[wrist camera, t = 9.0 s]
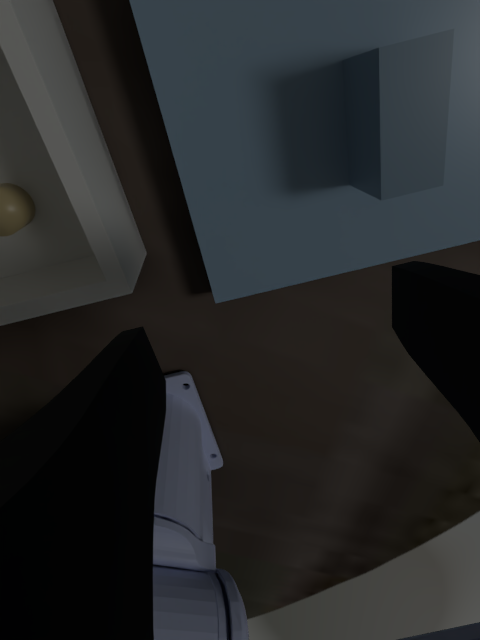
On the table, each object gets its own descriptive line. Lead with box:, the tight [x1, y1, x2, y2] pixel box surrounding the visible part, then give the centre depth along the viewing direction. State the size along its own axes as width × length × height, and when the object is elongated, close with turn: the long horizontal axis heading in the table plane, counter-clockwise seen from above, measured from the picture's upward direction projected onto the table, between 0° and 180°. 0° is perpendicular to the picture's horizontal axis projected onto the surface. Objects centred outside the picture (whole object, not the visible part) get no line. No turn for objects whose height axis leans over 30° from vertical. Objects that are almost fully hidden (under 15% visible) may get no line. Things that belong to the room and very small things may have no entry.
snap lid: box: [129, 0, 480, 303], centre depth 16 cm, size 14×18×6 cm
